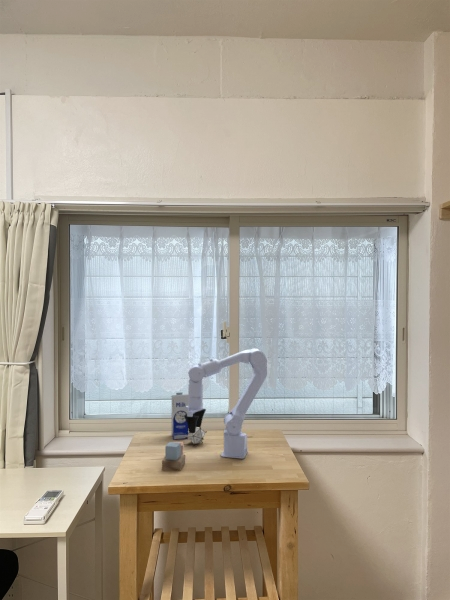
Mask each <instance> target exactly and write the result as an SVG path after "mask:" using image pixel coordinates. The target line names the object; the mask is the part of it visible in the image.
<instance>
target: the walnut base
mask: <svg viewBox="0 0 450 600" xmlns="http://www.w3.org/2000/svg"><path fill="white" fill-rule="evenodd" d="M185 463H186V455H185V454H183V455H181V456H180V457H179V458H178V460H168V459H165V457H164V458H162V461H161V470H163V471H164V470H165V471H179V472H180V471H181V470H182V469H183V468H184V466H185Z"/></svg>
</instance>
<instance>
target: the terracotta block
mask: <svg viewBox="0 0 450 600" xmlns="http://www.w3.org/2000/svg"><path fill="white" fill-rule="evenodd" d="M175 442H176V443H181V455H185V452H184V450H185V448H184V447H185V446H184V443H185V442H184V441H175Z"/></svg>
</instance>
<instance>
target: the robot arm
mask: <svg viewBox="0 0 450 600" xmlns="http://www.w3.org/2000/svg"><path fill="white" fill-rule="evenodd" d="M238 363H244V364H247V365H249V364H250V365H251V368H252V372H253V374H252V376H251V378H250V379H249V381H248V383H247V385H246V386H245V388H244V390H243V392H242V393H241V395H240V397H239V399H238V401H237V402H236V403H235V406H234V407H232V408H231V410H230V412H229V413H227V414H225V416H224V417H223V424H224V426H225V429H224V430H223V451H222V453H221V454H220V457H222V458H231V459H232V458H233V459H241V460H242V459H243V460H244V459H245V458H246V455H247V454H248V434H247V433H245V432H242V428H243V426H242V425H243V423H244V421H245V416H246V413H247V412H248V410H249V408H250V406H251V405H252V403H253V402H254V399H255V398H256V397H257V394H258V393H259V390H260V389H261V388H262V386H263V385H264V384H263V383H264V382H265V381H266V378H267V376H268V366H267V365H268V359H267V357H266V355H265V353H264V352H263V351H261V350H260V349H259V348H257V347H252V348H250V349H245V350H241V351H238V352H237V353H234V354H232V355H229V356H226V357H224V358H222V359H217V358H212V357H211V358H209V360H208V361H205V362H202V363H201V362H200V363H198V365H197V364H196V365H192V366H191V367H190V368H189V369H188V372H187V373H188V387H187V388H188V393H187V394H188V406H186V407H185V408H186V409H188V411H187V414H185V415H184V418H185V420H186V422H187V424H188V433H195V430H196V427H201V428H202V423H203V419H204V415H205V413H206V410H207V409H206V408H204V403H203V395H204V394H203V393H204V392H203V390H204V385H203V378H208V377H210V376H214V375H216V374H219V373H220V372H221V371H222V370H223V368H227V367H230V366H233V365H236V364H238Z"/></svg>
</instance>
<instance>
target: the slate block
mask: <svg viewBox="0 0 450 600" xmlns="http://www.w3.org/2000/svg"><path fill="white" fill-rule="evenodd" d="M176 442H177V441H169V442H168V443H167V444H166V445H165V447H164V449H165V451H164V453H165V455H164V456H165V457H164V458H165V459H168V460H178V458H179V457H180V456H181V443H176Z"/></svg>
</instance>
